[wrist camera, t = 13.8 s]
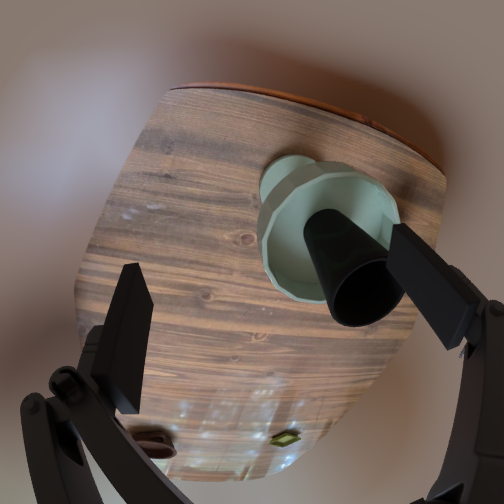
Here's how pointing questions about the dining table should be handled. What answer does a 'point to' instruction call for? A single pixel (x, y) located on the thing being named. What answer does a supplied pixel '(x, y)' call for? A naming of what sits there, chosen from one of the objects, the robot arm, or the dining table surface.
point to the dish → (155, 445)
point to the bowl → (304, 206)
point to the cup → (350, 269)
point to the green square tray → (284, 440)
